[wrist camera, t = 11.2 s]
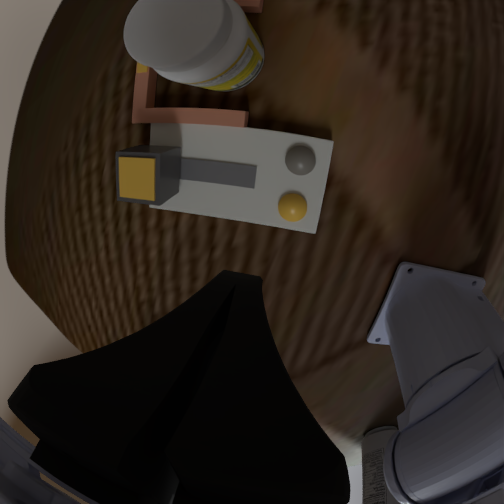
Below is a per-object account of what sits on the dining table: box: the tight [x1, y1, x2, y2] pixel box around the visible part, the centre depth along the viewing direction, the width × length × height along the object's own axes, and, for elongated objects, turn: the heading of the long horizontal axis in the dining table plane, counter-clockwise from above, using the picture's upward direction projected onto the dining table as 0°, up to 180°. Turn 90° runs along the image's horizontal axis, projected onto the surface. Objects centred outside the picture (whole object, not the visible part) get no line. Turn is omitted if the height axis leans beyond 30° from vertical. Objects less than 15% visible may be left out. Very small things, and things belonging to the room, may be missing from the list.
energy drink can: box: [361, 426, 401, 504], centre depth 24 cm, size 6×6×15 cm
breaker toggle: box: [116, 145, 181, 206], centre depth 16 cm, size 3×3×3 cm
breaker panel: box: [150, 123, 334, 234], centre depth 17 cm, size 12×6×1 cm, turn 84°
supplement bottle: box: [124, 0, 264, 91], centre depth 10 cm, size 5×5×8 cm
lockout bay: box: [132, 0, 263, 128], centre depth 14 cm, size 8×9×1 cm
